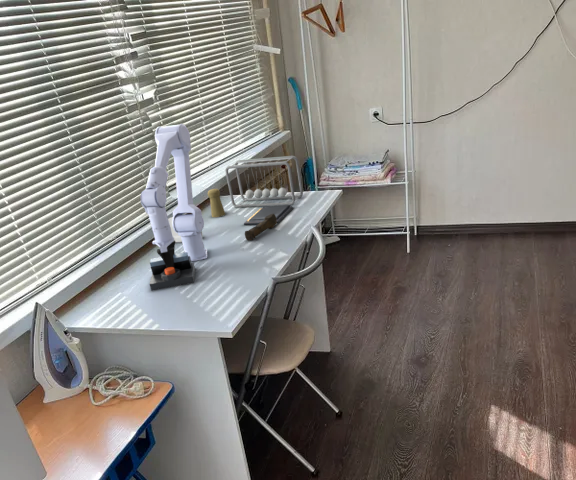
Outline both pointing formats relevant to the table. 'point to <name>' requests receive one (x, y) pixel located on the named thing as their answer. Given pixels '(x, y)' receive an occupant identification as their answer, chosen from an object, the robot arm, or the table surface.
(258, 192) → the newton's cradle
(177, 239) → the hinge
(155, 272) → the black and grey bar
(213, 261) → the table surface
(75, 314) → the table surface
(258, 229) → the hand tool
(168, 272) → the button
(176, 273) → the control box
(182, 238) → the robot arm
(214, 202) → the cork
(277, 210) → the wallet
